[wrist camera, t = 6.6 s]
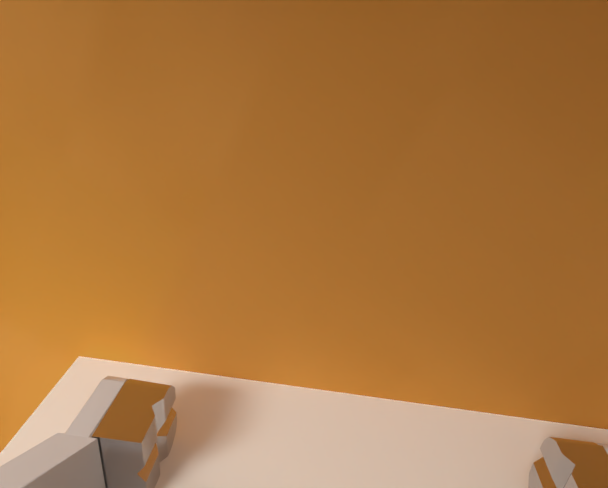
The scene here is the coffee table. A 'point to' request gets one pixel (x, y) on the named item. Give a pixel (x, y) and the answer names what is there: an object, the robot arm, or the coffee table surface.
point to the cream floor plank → (310, 435)
